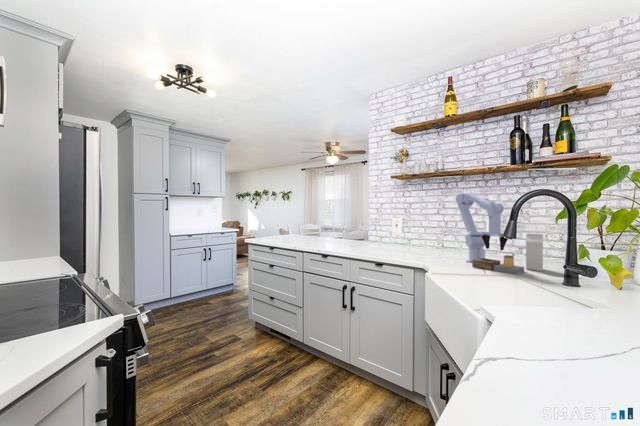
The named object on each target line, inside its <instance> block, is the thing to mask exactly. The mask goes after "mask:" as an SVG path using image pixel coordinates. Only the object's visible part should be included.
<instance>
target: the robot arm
mask: <svg viewBox="0 0 640 426" xmlns="http://www.w3.org/2000/svg"><path fill="white" fill-rule="evenodd" d="M455 202H456V203H457V207H458V210H459V212H460V215H461V217H462V221H463V223H464V227H465V230H466V232H467V234H466V235H465V236H464V238H465V244H466V246H467V248H468V260H466V261H468V263H472V260H474V259H480V258H485V259H486V250H485V249H488V250H489V249H490V239H491V237H499V248H500V251H504V249H505V246H506V244H507V241H508V240H509V238H508V239H506V238H504V237H503V233H504V232H502V224H501V223H502V213H503V212H504V205H503V204H502V203H500V202H497V203H496V202H495V201H494V200H493V201H492V200H490V199H489V198H488V197H484V198H482V197H480V196H478V195H477V194H476V193H473V192H458V193H457V194H456V197H455ZM474 203H476V204H478V205H479V207H480V208H481V209H484V210H485V211H486V213H487V217H488V231H481V232H480V231H478V230H477V227H476V224H475V222H474V219H473V217H472V214H471V211H470V208H471V207H472V206H473V205H474ZM484 247H485V248H484Z"/></svg>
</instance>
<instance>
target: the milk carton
mask: <svg viewBox="0 0 640 426" xmlns="http://www.w3.org/2000/svg"><path fill="white" fill-rule="evenodd" d="M525 235H526V238H525V239H526V240H525V243H526V244H525V245H526V246H525V270H531V271H538V272H540V271H542V272H543V271H544V234H543V233H526V234H525Z"/></svg>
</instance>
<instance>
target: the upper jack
mask: <svg viewBox="0 0 640 426" xmlns="http://www.w3.org/2000/svg"><path fill="white" fill-rule="evenodd" d="M471 263H472V266H473V267H472V268H475V267H478V268H477V269H481V268H483V269H482V270H489V271H494V266H495V265H500V264H501V260H499V259H498V260H497V259H490V258H486V257H485V258H480V259H474V260H472V262H471Z"/></svg>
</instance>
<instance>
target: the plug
mask: <svg viewBox="0 0 640 426" xmlns="http://www.w3.org/2000/svg"><path fill="white" fill-rule="evenodd" d="M503 264H504V267H511V268H513V267H514V265H515V257H514V255H504V256H503Z"/></svg>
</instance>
